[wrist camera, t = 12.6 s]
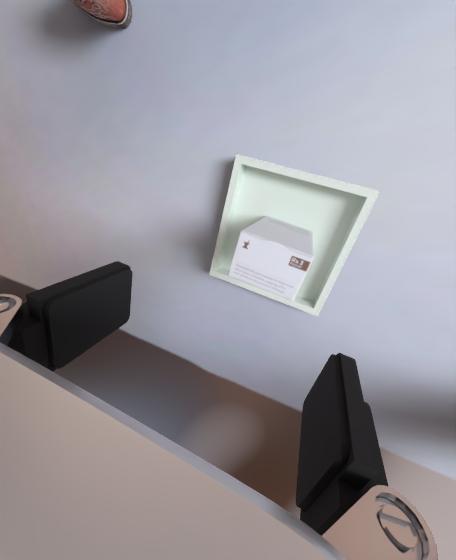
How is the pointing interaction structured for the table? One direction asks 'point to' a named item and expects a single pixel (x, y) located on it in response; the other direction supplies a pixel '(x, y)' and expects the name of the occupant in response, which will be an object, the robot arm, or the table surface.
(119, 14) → the lighter
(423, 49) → the table surface
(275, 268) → the skincare box
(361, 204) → the sage tray
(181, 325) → the table surface
